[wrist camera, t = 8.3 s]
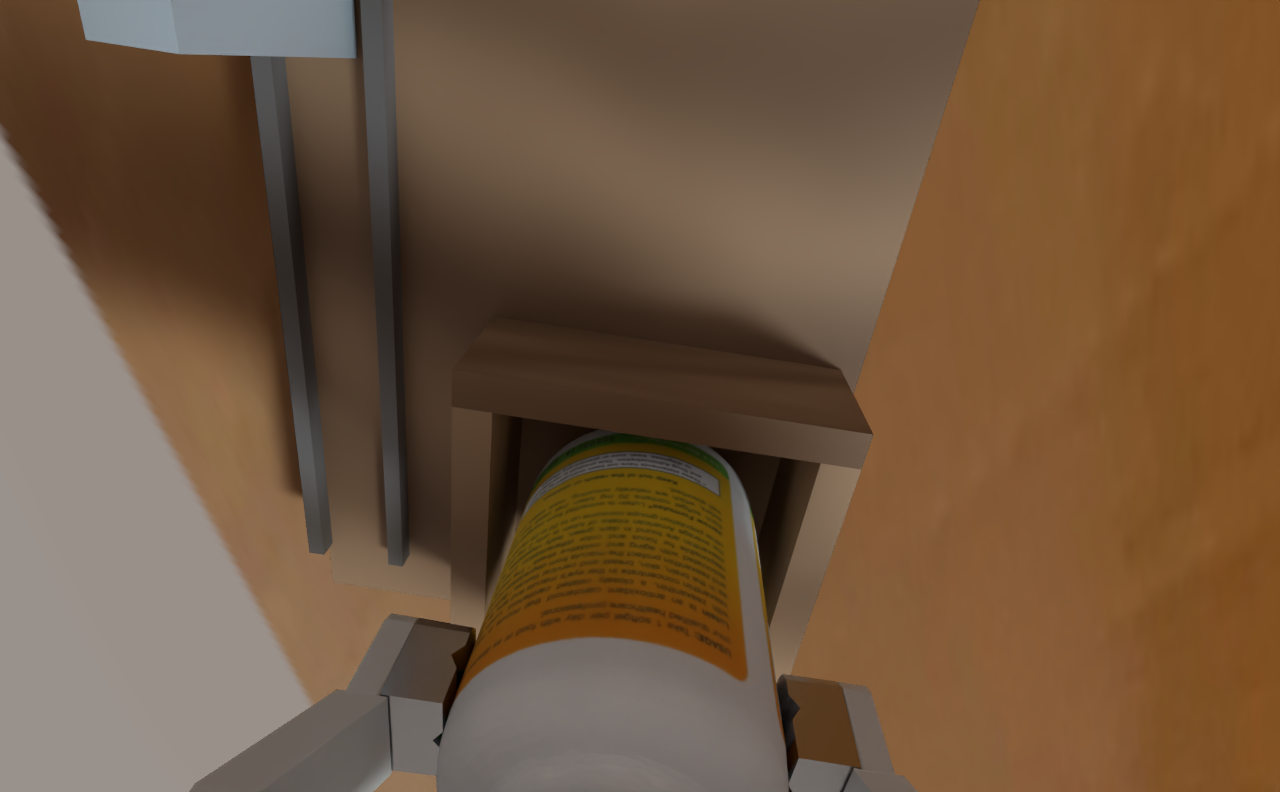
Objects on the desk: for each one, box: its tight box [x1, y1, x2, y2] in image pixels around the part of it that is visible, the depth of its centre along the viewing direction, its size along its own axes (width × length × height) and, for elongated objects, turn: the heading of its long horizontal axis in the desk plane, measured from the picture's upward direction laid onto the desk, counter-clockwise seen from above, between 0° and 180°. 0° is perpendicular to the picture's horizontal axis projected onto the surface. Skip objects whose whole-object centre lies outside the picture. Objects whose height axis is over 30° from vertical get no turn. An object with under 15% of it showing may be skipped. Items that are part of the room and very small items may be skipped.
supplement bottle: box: [436, 429, 789, 792], centre depth 12 cm, size 5×5×10 cm
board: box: [250, 0, 980, 683], centre depth 14 cm, size 19×13×4 cm
